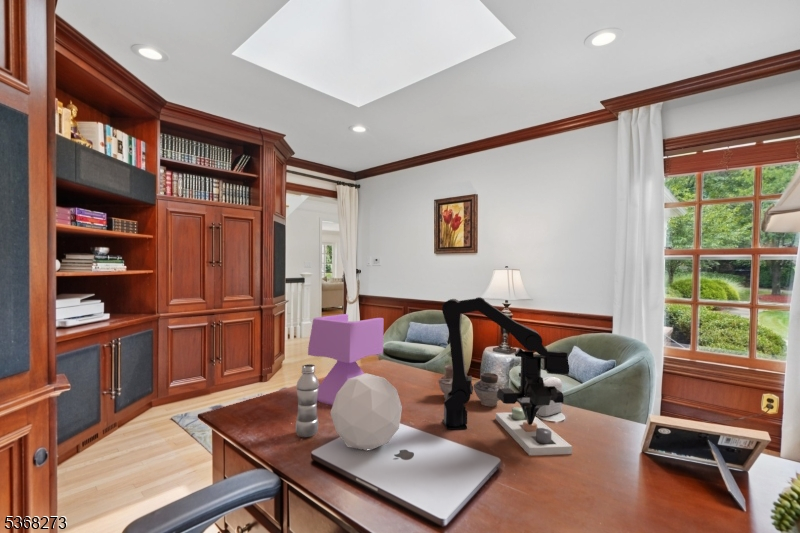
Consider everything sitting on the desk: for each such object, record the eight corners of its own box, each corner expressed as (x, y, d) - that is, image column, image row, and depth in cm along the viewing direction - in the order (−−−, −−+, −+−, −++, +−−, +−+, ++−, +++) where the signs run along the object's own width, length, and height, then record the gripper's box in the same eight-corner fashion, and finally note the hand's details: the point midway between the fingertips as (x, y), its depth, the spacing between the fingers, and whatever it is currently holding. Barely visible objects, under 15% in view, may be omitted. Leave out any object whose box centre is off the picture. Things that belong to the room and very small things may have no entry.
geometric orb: (377, 478, 96) (387, 438, 84) (315, 440, 102) (316, 397, 90) (407, 421, 111) (419, 380, 99) (352, 390, 116) (357, 348, 105)
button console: (529, 455, 96) (529, 447, 96) (495, 418, 120) (495, 412, 120) (572, 453, 98) (572, 446, 98) (530, 418, 121) (530, 412, 121)
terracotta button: (526, 437, 107) (526, 427, 107) (520, 431, 111) (520, 421, 111) (539, 436, 107) (539, 426, 107) (532, 431, 111) (533, 421, 111)
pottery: (442, 391, 147) (443, 362, 147) (506, 401, 137) (506, 369, 137) (434, 400, 136) (434, 368, 137) (502, 411, 127) (503, 377, 127)
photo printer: (552, 408, 131) (552, 373, 131) (563, 412, 127) (564, 376, 128) (534, 413, 125) (535, 377, 126) (545, 418, 122) (546, 381, 122)
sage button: (514, 421, 115) (515, 412, 115) (509, 416, 118) (509, 407, 119) (527, 421, 115) (527, 411, 115) (521, 416, 119) (521, 407, 119)
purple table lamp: (382, 395, 140) (383, 318, 141) (348, 411, 123) (350, 323, 124) (342, 386, 151) (344, 313, 151) (306, 399, 134) (309, 318, 135)
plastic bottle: (322, 432, 107) (324, 364, 108) (309, 442, 101) (311, 369, 101) (303, 428, 109) (305, 362, 110) (290, 438, 103) (292, 367, 103)
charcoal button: (540, 445, 99) (540, 434, 99) (533, 438, 103) (533, 428, 103) (554, 445, 99) (554, 434, 99) (546, 438, 103) (546, 427, 103)
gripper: (512, 380, 100) (511, 437, 100) (575, 379, 102) (574, 435, 102) (496, 369, 111) (495, 420, 111) (554, 369, 113) (553, 419, 113)
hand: (529, 424), depth 109 cm, fingers closed, pressing on terracotta button
